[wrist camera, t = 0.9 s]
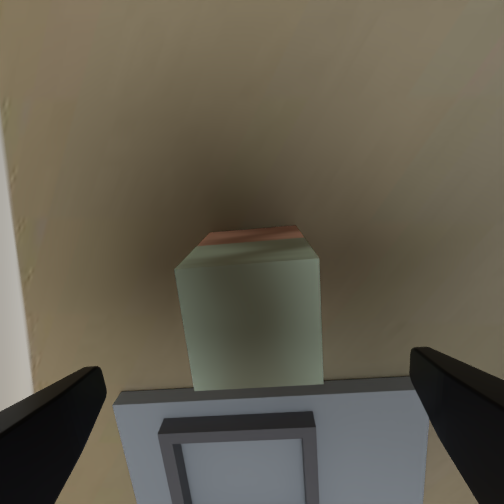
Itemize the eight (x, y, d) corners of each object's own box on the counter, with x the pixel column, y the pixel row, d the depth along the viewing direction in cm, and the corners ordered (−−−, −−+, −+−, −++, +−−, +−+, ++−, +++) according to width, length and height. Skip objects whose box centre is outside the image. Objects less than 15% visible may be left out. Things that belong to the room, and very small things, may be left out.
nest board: (420, 375, 19) (443, 404, 16) (412, 513, 21) (430, 553, 19) (121, 391, 20) (102, 420, 17) (152, 520, 23) (139, 559, 20)
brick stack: (295, 225, 16) (319, 258, 10) (300, 305, 18) (323, 384, 11) (209, 232, 17) (174, 269, 10) (219, 310, 18) (194, 391, 11)
